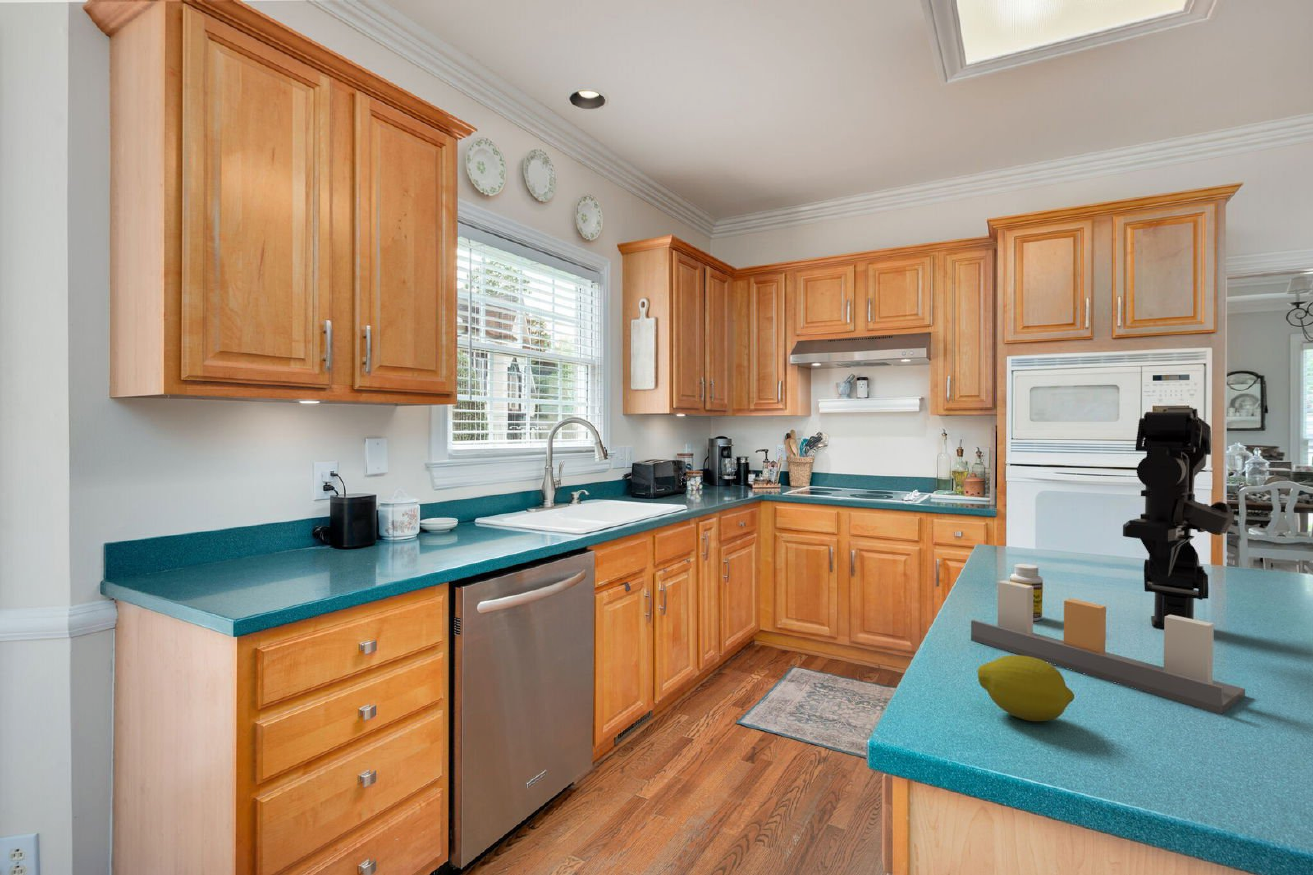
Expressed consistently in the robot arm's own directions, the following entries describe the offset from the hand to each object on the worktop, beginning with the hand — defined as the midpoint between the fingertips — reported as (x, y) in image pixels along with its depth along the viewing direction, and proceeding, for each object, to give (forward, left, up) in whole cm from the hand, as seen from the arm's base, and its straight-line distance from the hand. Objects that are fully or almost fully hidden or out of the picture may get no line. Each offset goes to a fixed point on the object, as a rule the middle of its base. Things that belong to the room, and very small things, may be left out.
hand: (1165, 576), depth 108 cm
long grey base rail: (+17, -10, -12) cm, 23 cm away
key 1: (+13, -21, -11) cm, 27 cm away
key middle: (+20, -11, -11) cm, 25 cm away
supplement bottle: (-4, -21, -12) cm, 25 cm away
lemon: (+44, -16, -12) cm, 48 cm away
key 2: (+22, +2, -11) cm, 24 cm away
